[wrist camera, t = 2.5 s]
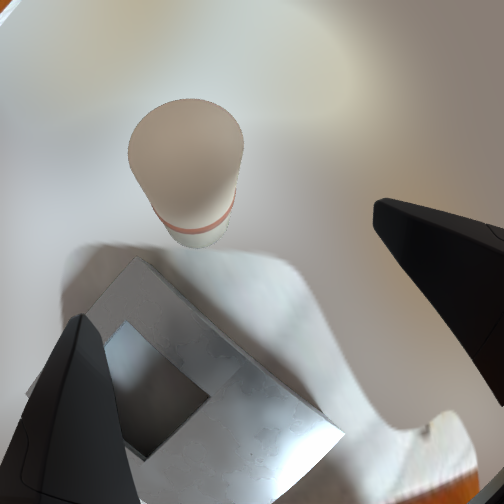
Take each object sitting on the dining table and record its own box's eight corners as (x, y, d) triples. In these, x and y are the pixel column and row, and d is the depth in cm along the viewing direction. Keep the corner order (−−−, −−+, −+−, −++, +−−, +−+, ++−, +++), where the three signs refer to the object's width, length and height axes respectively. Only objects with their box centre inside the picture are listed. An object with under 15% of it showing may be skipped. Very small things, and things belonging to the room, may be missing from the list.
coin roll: (243, 215, 21) (269, 143, 11) (198, 263, 20) (183, 226, 10) (197, 173, 21) (188, 81, 11) (151, 218, 20) (104, 150, 10)
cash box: (323, 413, 19) (345, 433, 15) (215, 511, 17) (217, 542, 13) (151, 264, 19) (136, 255, 16) (52, 381, 17) (25, 393, 13)
